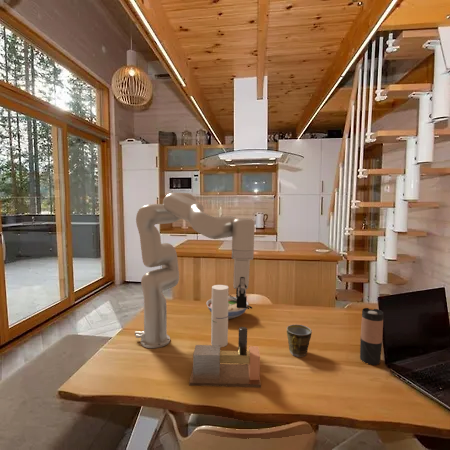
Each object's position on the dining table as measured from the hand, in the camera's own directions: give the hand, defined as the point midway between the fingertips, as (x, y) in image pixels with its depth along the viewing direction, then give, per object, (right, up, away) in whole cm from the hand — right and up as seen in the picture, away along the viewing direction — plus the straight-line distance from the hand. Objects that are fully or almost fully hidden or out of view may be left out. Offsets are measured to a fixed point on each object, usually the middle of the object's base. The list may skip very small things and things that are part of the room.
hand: (240, 302), depth 104 cm
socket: (+5, -26, +2) cm, 26 cm away
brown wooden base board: (-6, -27, +2) cm, 27 cm away
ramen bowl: (-4, -22, +56) cm, 60 cm away
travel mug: (+52, -27, +14) cm, 60 cm away
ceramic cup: (+24, -26, +17) cm, 39 cm away
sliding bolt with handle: (-3, -21, +1) cm, 21 cm away
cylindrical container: (-8, -25, +26) cm, 37 cm away
